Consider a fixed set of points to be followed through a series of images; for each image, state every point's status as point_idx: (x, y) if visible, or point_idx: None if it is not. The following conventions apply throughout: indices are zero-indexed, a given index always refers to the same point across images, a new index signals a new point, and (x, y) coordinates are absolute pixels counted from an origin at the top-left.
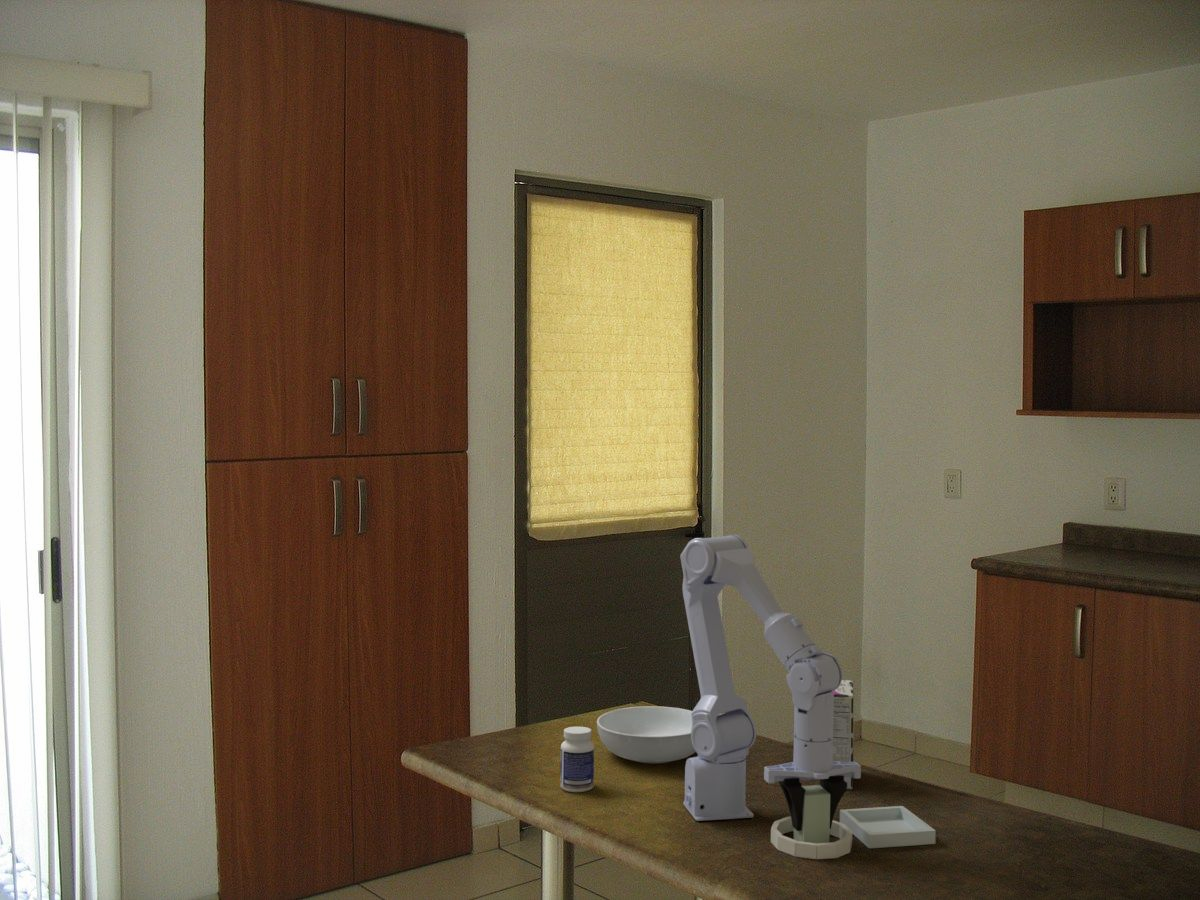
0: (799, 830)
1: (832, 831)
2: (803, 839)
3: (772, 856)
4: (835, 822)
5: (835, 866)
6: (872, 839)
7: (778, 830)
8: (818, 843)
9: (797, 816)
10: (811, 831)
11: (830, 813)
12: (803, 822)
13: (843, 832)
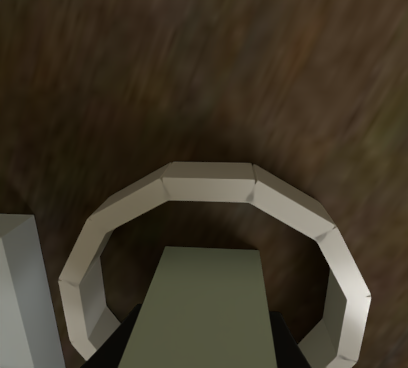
0: (271, 312)
1: None
2: (262, 273)
3: (401, 219)
4: None
5: (208, 87)
6: (1, 227)
7: None
8: (239, 198)
9: (302, 358)
10: (230, 289)
11: (121, 349)
12: (268, 326)
13: (89, 298)
